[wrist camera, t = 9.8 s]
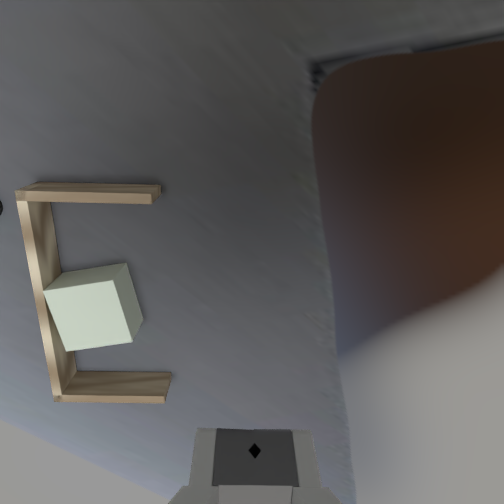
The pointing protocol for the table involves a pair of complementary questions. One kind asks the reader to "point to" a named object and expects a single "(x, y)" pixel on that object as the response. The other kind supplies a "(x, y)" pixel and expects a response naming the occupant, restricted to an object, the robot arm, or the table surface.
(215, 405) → the table surface
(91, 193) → the wooden u-shaped bracket
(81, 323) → the sage block
